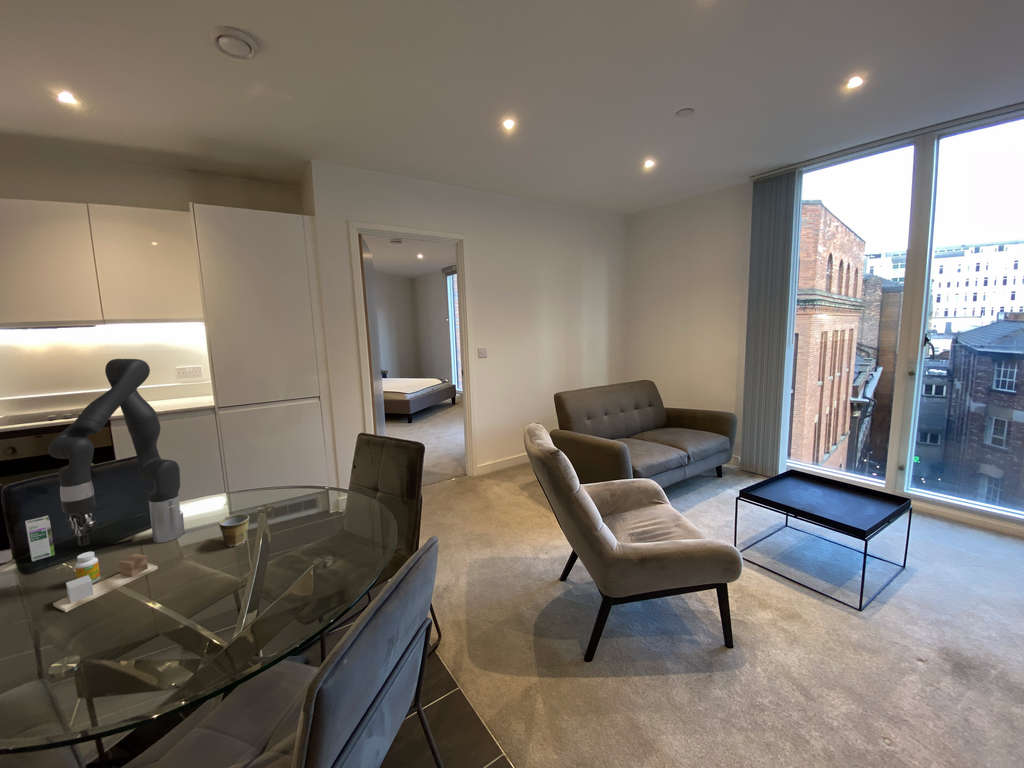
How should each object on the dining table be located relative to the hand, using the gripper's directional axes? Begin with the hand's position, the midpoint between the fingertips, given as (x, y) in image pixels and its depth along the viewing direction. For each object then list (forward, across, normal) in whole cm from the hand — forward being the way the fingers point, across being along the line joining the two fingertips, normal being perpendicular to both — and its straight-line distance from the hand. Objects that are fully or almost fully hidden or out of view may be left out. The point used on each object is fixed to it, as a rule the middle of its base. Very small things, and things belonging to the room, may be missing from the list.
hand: (84, 544), depth 135 cm
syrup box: (+14, +35, -2) cm, 38 cm away
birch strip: (+13, -10, -1) cm, 16 cm away
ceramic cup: (+14, -20, -36) cm, 43 cm away
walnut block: (+12, -10, -8) cm, 18 cm away
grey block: (+12, -10, +6) cm, 17 cm away
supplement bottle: (+14, 0, 0) cm, 14 cm away
